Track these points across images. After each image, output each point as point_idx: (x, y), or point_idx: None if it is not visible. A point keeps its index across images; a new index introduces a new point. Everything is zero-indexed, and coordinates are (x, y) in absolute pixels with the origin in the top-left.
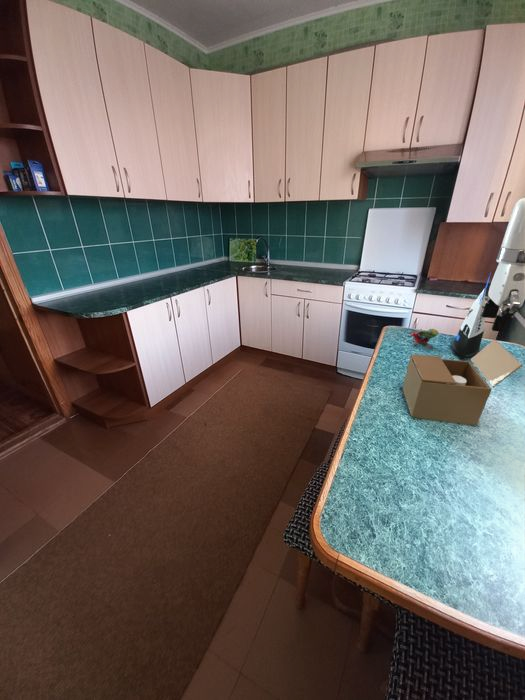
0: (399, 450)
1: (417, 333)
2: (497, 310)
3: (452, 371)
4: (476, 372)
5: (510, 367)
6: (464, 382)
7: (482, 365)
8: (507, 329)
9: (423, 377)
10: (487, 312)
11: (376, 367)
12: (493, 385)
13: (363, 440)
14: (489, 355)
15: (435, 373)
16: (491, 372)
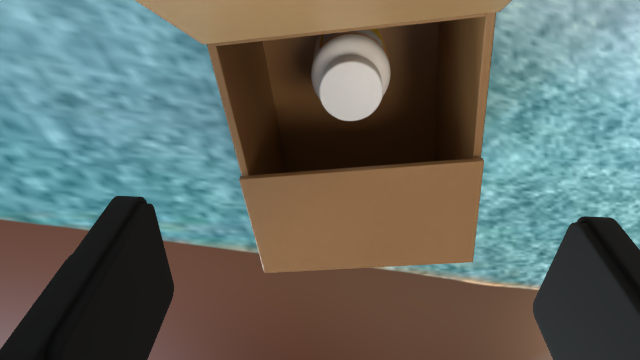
0: (582, 199)
1: None
2: (110, 283)
3: (244, 82)
4: (325, 33)
5: None
6: (377, 75)
7: (309, 23)
8: (620, 239)
9: (458, 258)
10: (148, 318)
11: (183, 235)
12: (501, 9)
13: (549, 263)
14: (264, 6)
15: (415, 218)
16: (411, 8)
